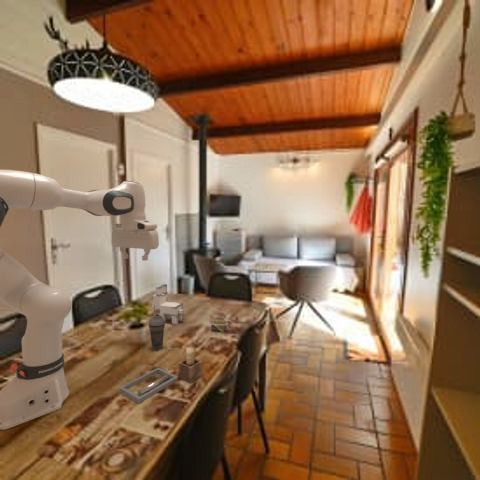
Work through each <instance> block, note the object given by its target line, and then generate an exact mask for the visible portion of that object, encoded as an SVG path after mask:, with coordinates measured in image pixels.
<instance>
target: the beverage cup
mask: <svg viewBox="0 0 480 480" xmlns="http://www.w3.org/2000/svg"><path fill="white" fill-rule="evenodd" d="M153 313H154V315H152V316H151V317H150V319H149V321H148V327H149V334H150V335H149V336H150V341H151V348H152V351H160V350H162V349H163V345H164V344H163V343H164V333H165V330H164V329H165V325H166V322H165V321H164V318H163V317H162V316H161V315H160V314H156V309H155V305H154V309H153Z"/></svg>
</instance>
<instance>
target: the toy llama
mask: <svg viewBox="0 0 480 480" xmlns="http://www.w3.org/2000/svg"><path fill="white" fill-rule="evenodd" d="M154 305H155V310H159V315H161V316H162V317H163V318H164V321H165V323H167V321H170V320H171V325H172V326H177V325H179V323H181V322H183V319H184V318H183V315H185V309H184V306H183V305H184V304H183V303H182V302H181V303H180V302H173V301H168V285H167V284H166V283H162V284H160V285H157V286H155V293H154V294H152V295H151V309H152V310H154Z"/></svg>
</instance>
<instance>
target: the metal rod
mask: <svg viewBox="0 0 480 480" xmlns="http://www.w3.org/2000/svg"><path fill="white" fill-rule="evenodd" d="M168 380H170V377H169V375H167V374H166V375H165V376H164V375H162V376H161V377H159V378H157V379H156V380H154V381H152V382H151V383H148V384H147V385H144V386H143V387H141V388H139V389H138V390H137V395H138V396H139V397H140V396H142V395H144V394H145V393H147V392H149V391H151V390H152V389H154V388H156V387H158V386H159V385H161V384H163V383H165V382H166V381H168Z"/></svg>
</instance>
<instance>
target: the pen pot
mask: <svg viewBox="0 0 480 480" xmlns="http://www.w3.org/2000/svg"><path fill="white" fill-rule="evenodd" d="M202 377H203V361H202V360H199V359H198V358H195V364H194V365H192V366H191V367H190V366H188V365H186V359H184V360H181V361H180V362H178V379H180V380H182V381H185V382H186V383H189V384H191V383H193V382H195V381H196V380H198V379H200V378H202Z"/></svg>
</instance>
